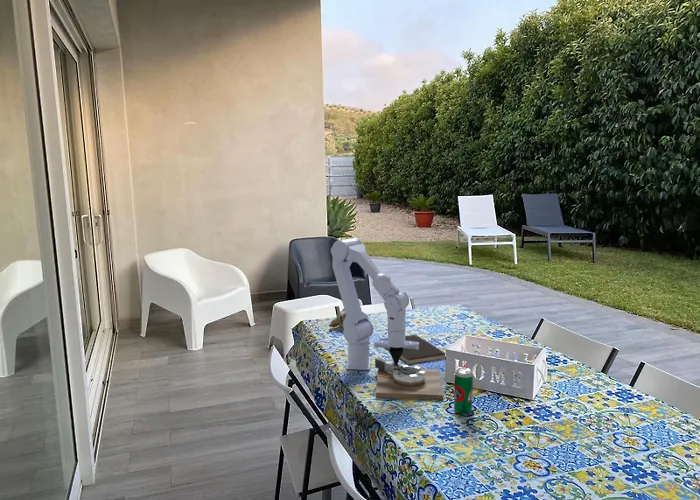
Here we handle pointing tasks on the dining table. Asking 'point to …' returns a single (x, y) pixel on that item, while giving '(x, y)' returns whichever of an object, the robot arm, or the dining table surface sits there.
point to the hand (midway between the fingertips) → (396, 369)
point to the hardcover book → (420, 351)
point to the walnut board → (410, 387)
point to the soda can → (463, 391)
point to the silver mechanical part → (402, 372)
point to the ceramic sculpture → (339, 320)
